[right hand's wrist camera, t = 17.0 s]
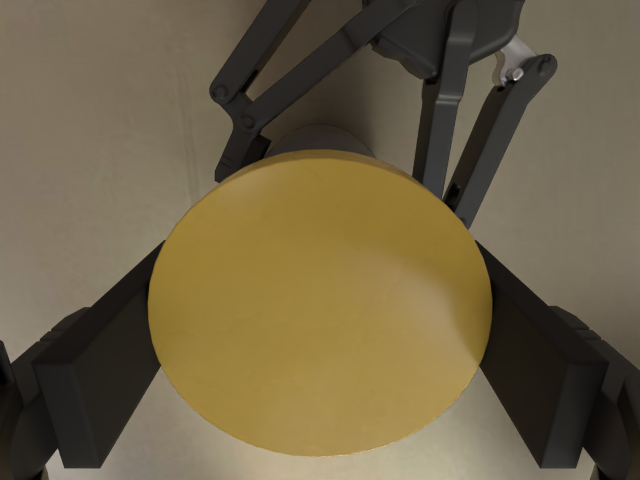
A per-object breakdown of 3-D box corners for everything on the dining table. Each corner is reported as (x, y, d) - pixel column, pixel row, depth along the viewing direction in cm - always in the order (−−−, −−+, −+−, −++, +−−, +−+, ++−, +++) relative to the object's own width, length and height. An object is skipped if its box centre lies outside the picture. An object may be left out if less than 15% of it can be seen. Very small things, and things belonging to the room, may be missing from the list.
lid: (499, 158, 10) (531, 168, 9) (443, 421, 14) (459, 463, 12) (155, 139, 10) (126, 147, 9) (181, 410, 13) (163, 451, 12)
